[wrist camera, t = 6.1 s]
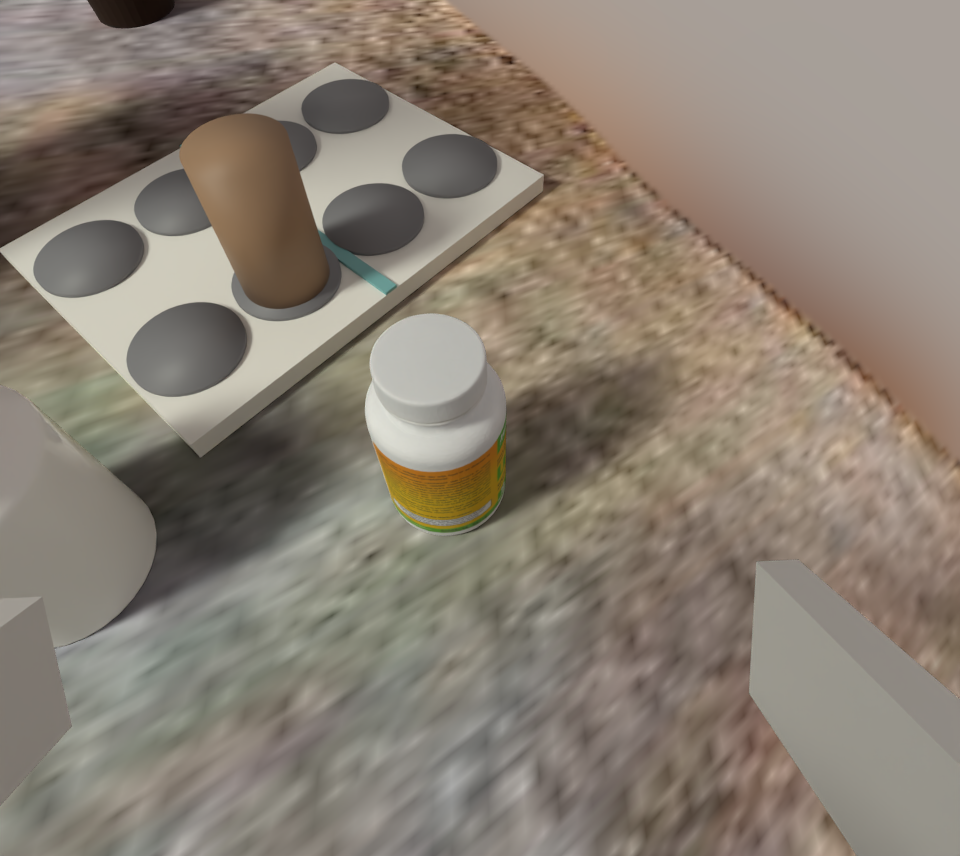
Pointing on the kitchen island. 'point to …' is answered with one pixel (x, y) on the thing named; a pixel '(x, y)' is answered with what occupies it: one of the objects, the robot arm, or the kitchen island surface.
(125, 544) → the pill bottle
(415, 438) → the supplement bottle
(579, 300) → the kitchen island surface
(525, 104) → the kitchen island surface
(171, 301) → the board
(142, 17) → the coffee mug
